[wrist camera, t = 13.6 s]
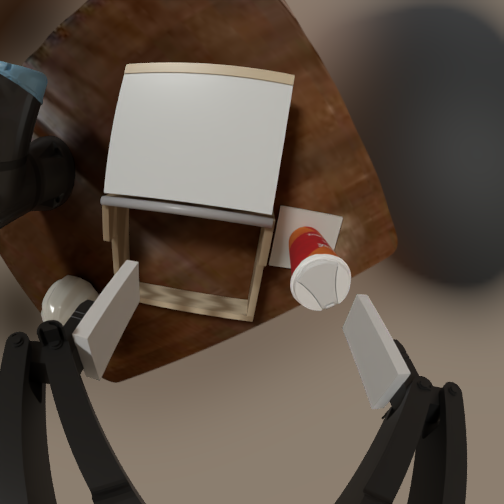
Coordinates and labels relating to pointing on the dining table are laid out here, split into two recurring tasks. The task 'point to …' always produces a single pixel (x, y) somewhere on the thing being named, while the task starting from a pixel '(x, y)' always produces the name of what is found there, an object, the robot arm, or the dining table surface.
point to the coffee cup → (316, 271)
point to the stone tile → (295, 219)
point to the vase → (66, 298)
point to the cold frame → (175, 298)
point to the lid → (199, 139)
